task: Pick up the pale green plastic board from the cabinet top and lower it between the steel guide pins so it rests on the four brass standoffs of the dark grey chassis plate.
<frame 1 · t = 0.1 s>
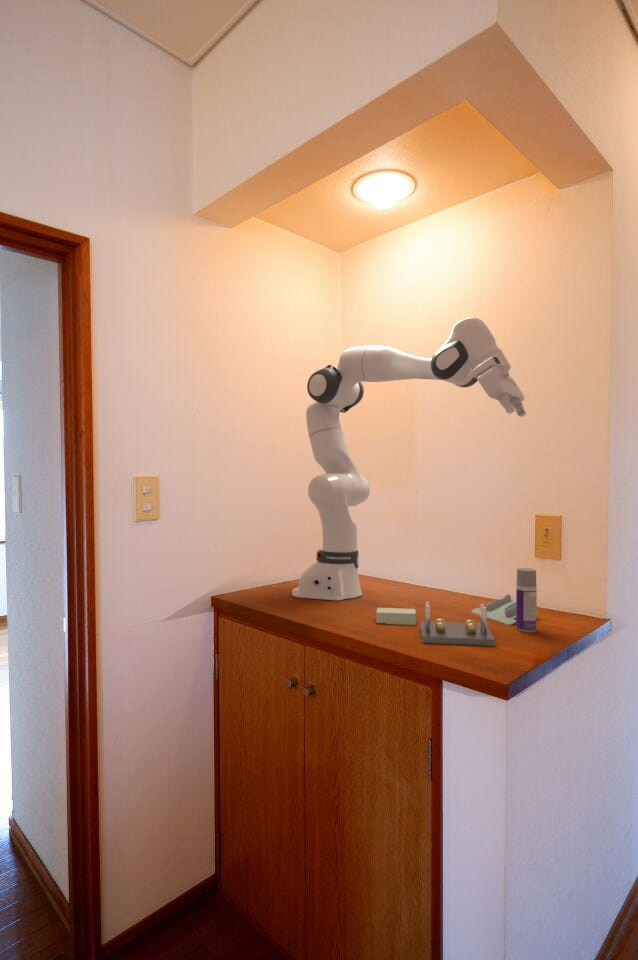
hand: (517, 413, 140), 54 cm above the cabinet, tool tilted 30°, fingers open, 8 cm apart
board: (396, 622, 141), on the cabinet
metal bracket: (506, 618, 147), on the cabinet
chassis: (455, 636, 128), on the cabinet
container: (526, 630, 134), on the cabinet
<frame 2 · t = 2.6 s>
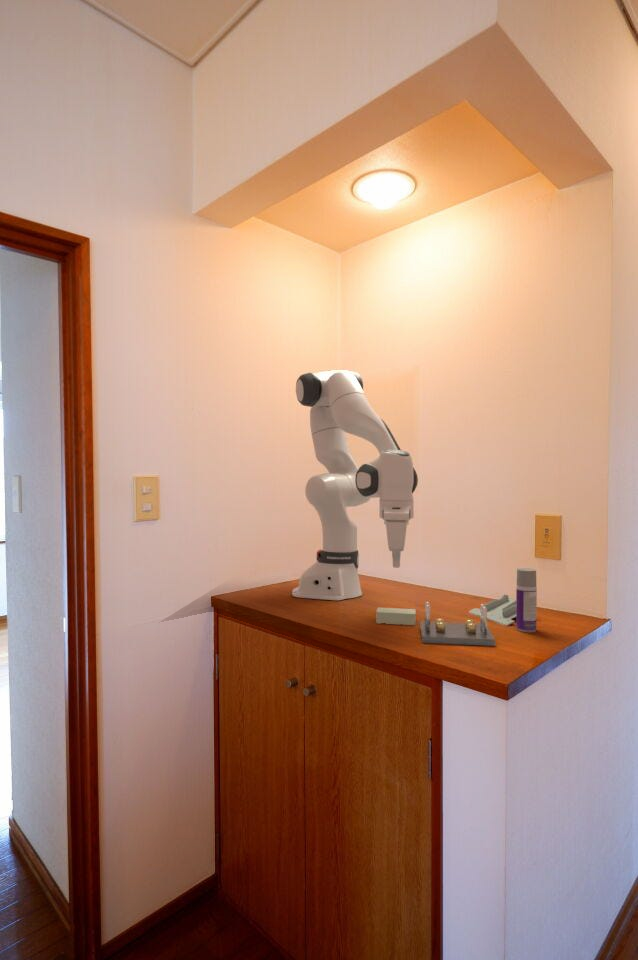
hand: (396, 564, 141), 15 cm above the cabinet, tool pointing down, fingers open, 8 cm apart
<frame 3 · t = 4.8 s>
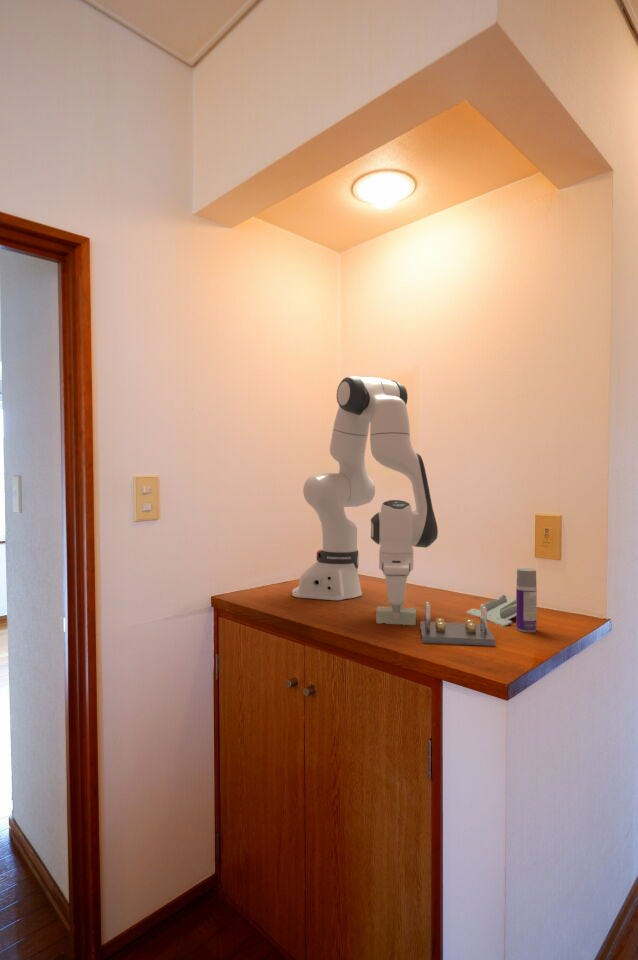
hand: (396, 615, 141), 2 cm above the cabinet, tool pointing down, fingers closed on board, 5 cm apart
board: (396, 621, 141), on the cabinet, touching gripper
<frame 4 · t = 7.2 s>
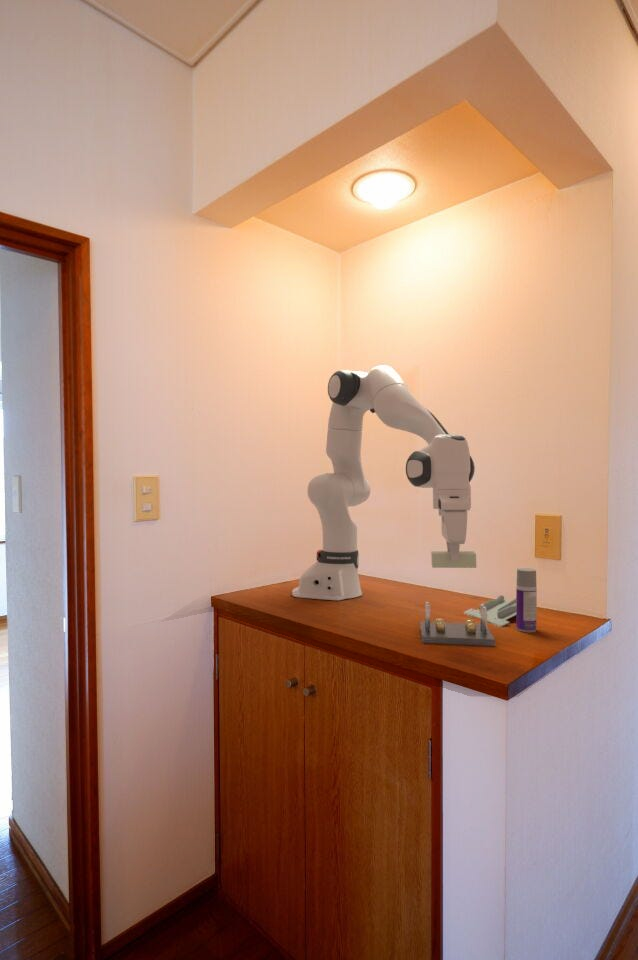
hand: (453, 559, 129), 18 cm above the cabinet, tool pointing down, fingers closed on board, 5 cm apart
board: (453, 566, 129), point 17 cm above the cabinet, touching gripper
when the fingers open (6 cm above the cabinet, at t = 9.7 s): board stays where it is, resting on chassis.
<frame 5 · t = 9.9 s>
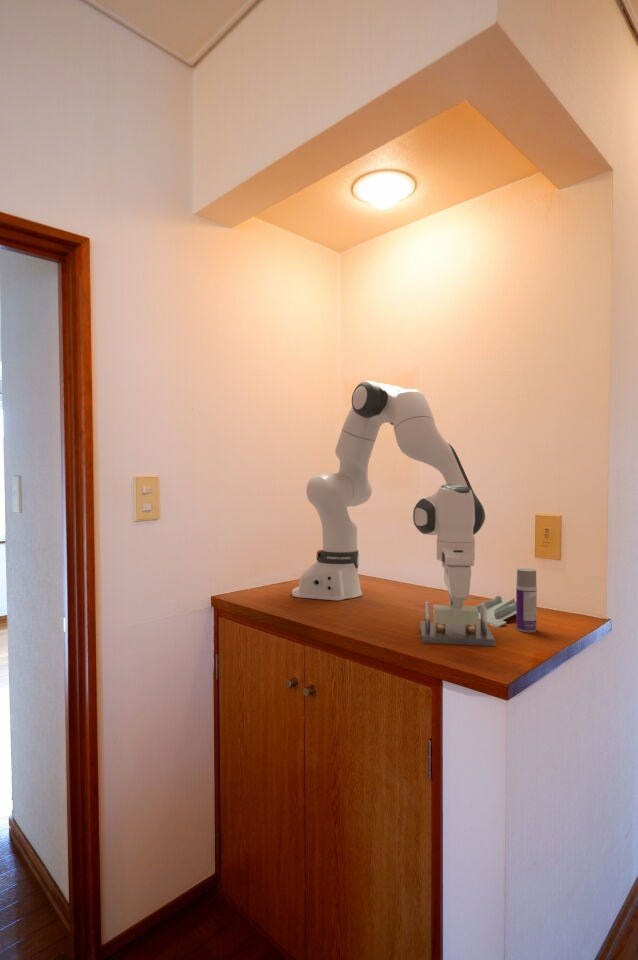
hand: (455, 610, 128), 6 cm above the cabinet, tool pointing down, fingers open, 7 cm apart
board: (455, 621, 128), point 3 cm above the cabinet, touching chassis
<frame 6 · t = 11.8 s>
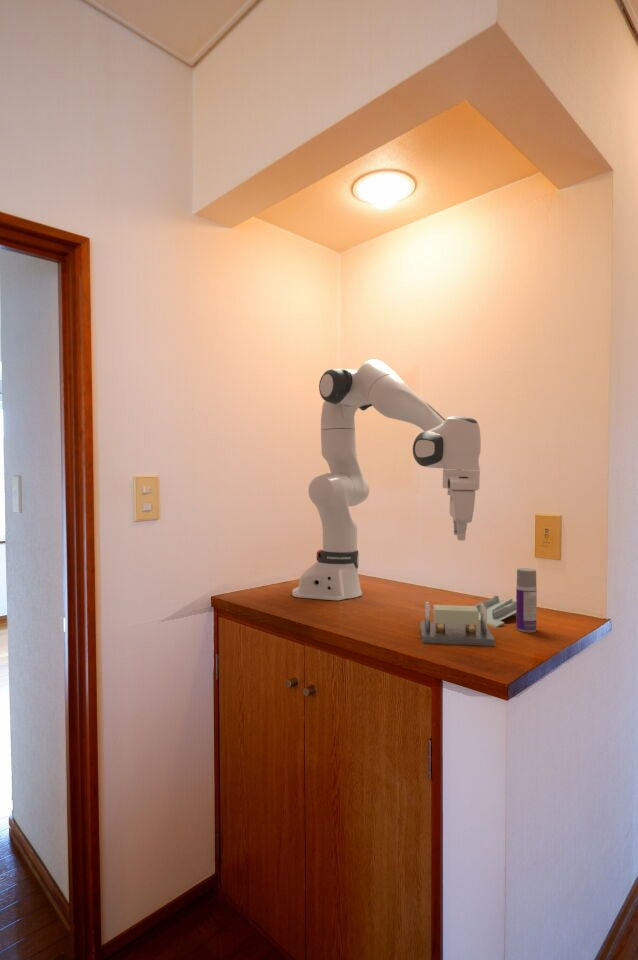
hand: (459, 537, 133), 23 cm above the cabinet, tool pointing down, fingers open, 8 cm apart
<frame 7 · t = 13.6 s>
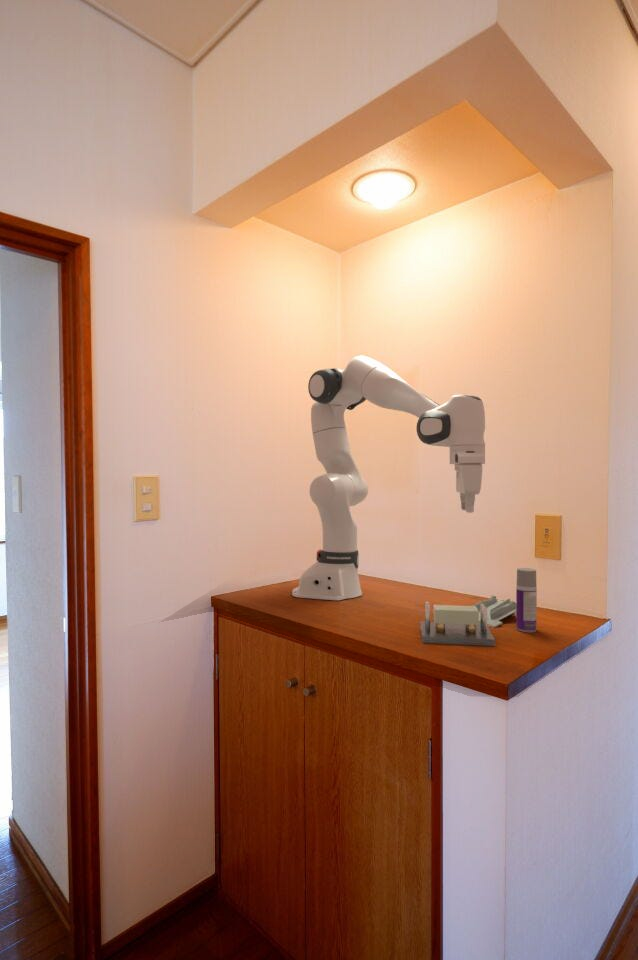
hand: (467, 511, 138), 29 cm above the cabinet, tool pointing down, fingers open, 8 cm apart
at the end: board 0.1 cm off-centre on the chassis, point 3.5 cm above the chassis's base; board tilted 0°; the gripper is holding nothing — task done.
